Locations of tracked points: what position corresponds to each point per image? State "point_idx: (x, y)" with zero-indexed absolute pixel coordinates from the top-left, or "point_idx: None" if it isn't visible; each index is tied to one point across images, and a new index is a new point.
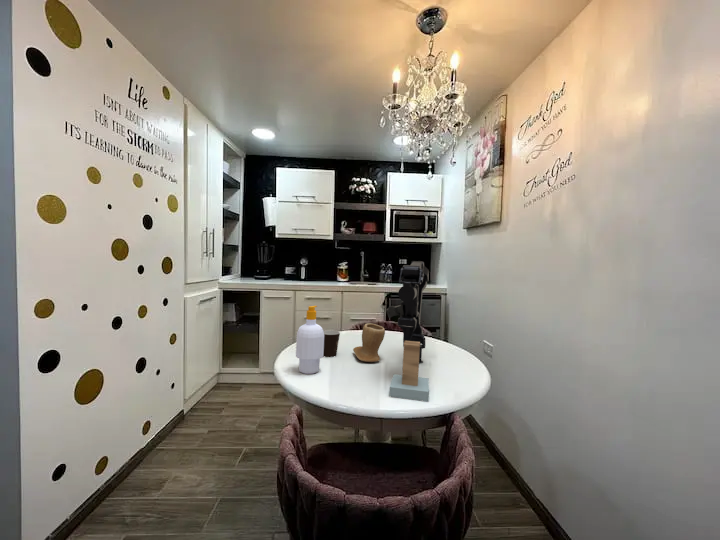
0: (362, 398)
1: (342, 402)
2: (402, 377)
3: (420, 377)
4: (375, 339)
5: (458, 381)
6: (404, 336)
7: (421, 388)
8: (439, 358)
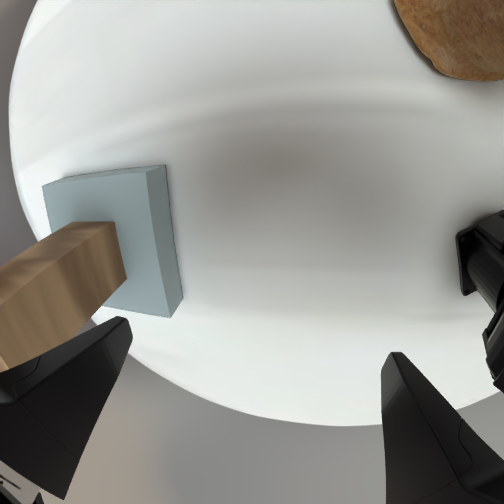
0: (36, 112)
1: (17, 82)
2: (55, 232)
3: (162, 290)
4: (496, 13)
5: (275, 382)
6: (54, 353)
7: None
8: None
